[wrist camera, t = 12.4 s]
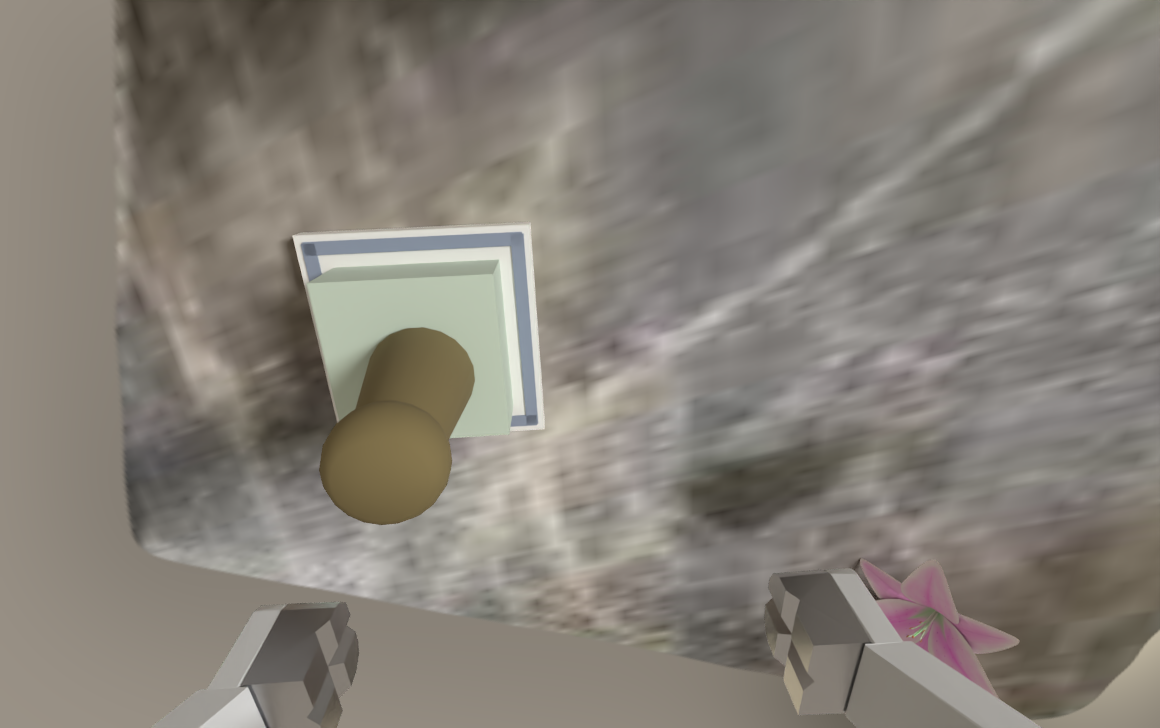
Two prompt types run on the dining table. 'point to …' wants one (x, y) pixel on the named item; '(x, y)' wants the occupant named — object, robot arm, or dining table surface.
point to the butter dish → (431, 310)
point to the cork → (399, 428)
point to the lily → (936, 619)
